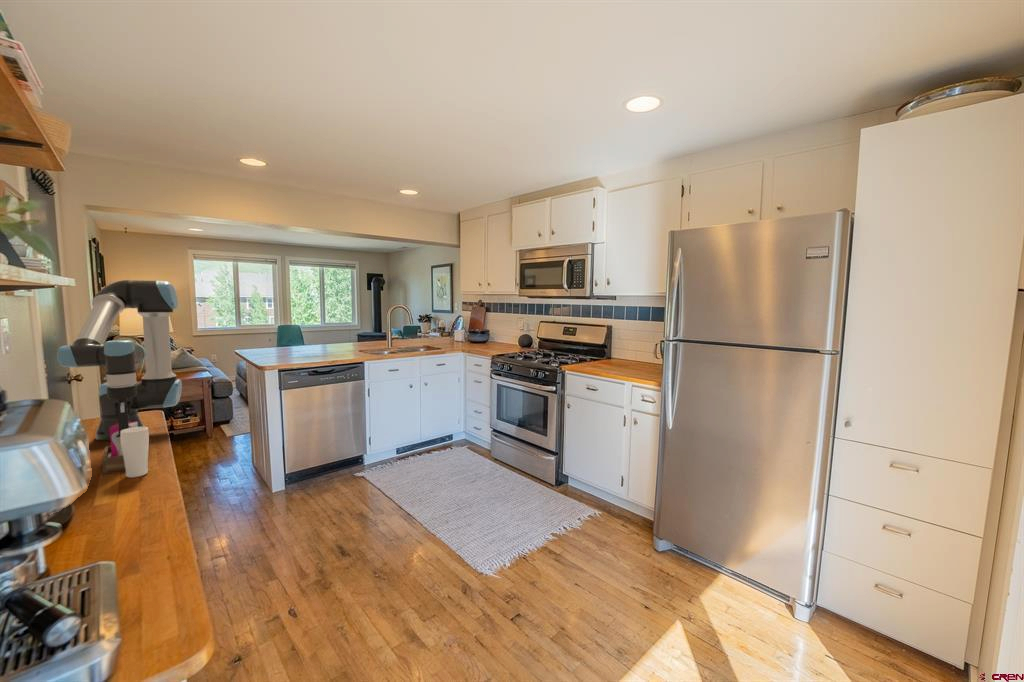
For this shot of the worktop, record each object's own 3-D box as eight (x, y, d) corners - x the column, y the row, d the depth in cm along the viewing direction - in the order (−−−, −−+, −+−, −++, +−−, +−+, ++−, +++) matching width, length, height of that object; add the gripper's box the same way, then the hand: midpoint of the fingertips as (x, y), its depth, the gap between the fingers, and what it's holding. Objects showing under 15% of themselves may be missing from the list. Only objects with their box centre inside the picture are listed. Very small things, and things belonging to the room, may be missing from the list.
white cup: (122, 481, 133) (119, 433, 132) (123, 474, 138) (120, 428, 137) (150, 475, 137) (148, 429, 136) (151, 469, 142) (148, 425, 141)
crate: (106, 460, 150) (105, 446, 150) (147, 453, 157) (146, 440, 157) (103, 474, 138) (102, 459, 137) (147, 466, 145) (147, 451, 145)
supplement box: (140, 452, 151) (138, 420, 150) (133, 458, 146) (130, 425, 145) (119, 454, 149) (117, 422, 148) (111, 460, 144) (108, 427, 142)
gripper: (108, 382, 150) (112, 446, 152) (104, 391, 135) (109, 462, 137) (136, 380, 155) (140, 442, 157) (136, 388, 140) (140, 457, 142)
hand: (125, 451), depth 147 cm, fingers closed on supplement box, 7 cm apart
